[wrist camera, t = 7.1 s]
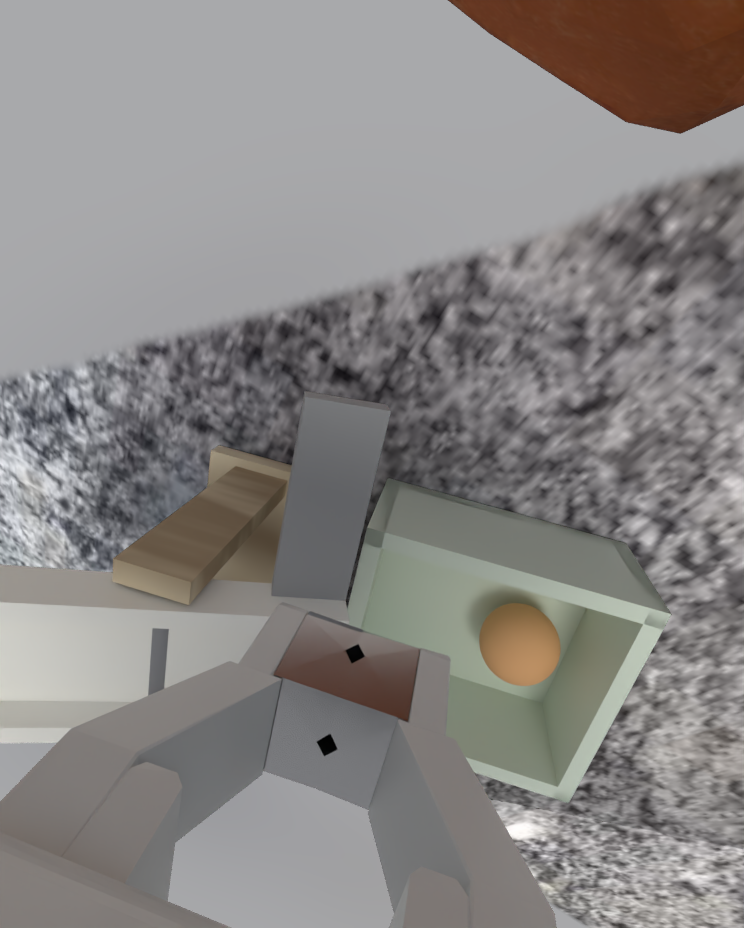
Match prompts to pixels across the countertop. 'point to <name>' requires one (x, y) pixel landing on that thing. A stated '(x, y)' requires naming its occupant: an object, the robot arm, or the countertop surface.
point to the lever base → (213, 531)
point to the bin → (499, 583)
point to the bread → (631, 52)
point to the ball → (519, 644)
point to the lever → (209, 615)
